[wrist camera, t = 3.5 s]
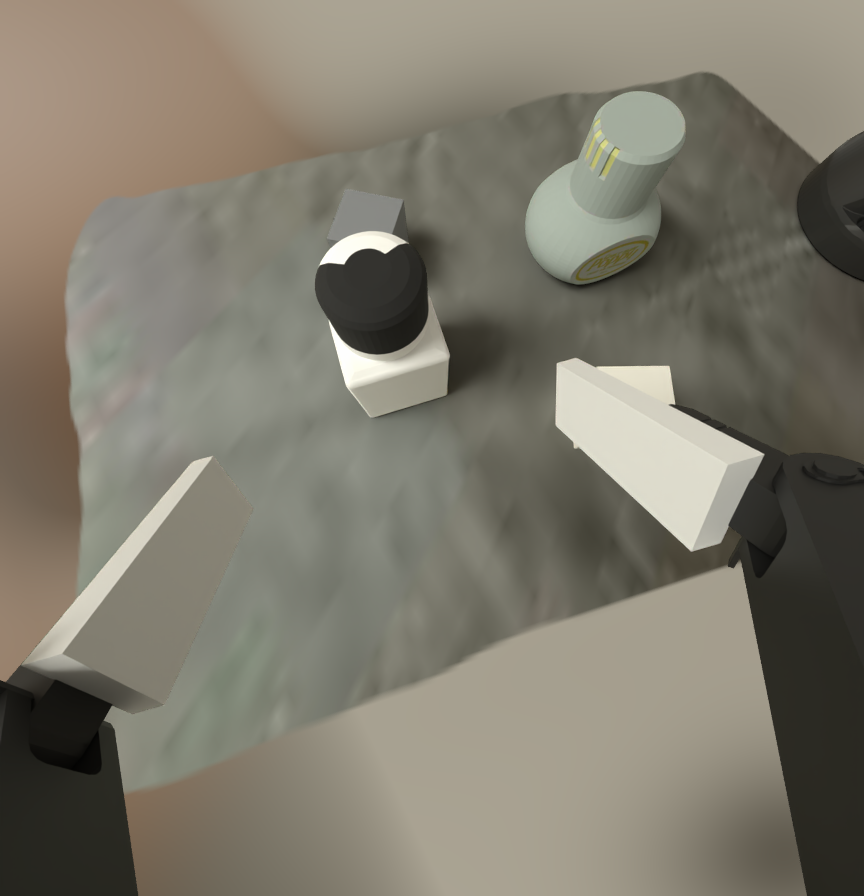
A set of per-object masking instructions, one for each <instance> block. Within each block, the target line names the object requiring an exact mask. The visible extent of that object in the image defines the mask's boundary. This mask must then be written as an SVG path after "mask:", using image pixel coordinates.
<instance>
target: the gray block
mask: <svg viewBox="0 0 864 896" xmlns="http://www.w3.org/2000/svg"><path fill="white" fill-rule="evenodd" d="M367 231H379V232H385V233H389V234H392V235H395V236H397V237H399V238H401V239H403V240H404V241H406V242H407V243H409V240H408V232H407V224H406V216H405V208H404V200H403V199H397V198H392V197H387V196H382V195H376V194H371V193H366V192H361V191H356V190H350V189H345V192H344V194H343V197H342V200H341V202H340V205H339V207H338V210H337V213H336V215H335V218H334V221H333V223H332V226H331V229H330V231H329V234H328V236H327V241H328V243H329V245H330V248H332V247H333V246H334V245H335V244H336V243H338V242H339V241H341V240H342V239H344V238H346V237H348V236H350V235H353V234H356V233H360V232H367Z"/></svg>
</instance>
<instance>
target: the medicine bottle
mask: <svg viewBox="0 0 864 896" xmlns="http://www.w3.org/2000/svg"><path fill="white" fill-rule="evenodd" d="M315 291H316V296H317V299H318V302H319V304H320V306H321V308H322V309H323V311H324V313H325V314H326V316H327V318H328V320H329V324H330V327H331V331H332V335H333V339H334V342H335V346H336V350H337V353H338V357H339V361H340V365H341V368H342V372H343V376H344V379H345V383H346V386H347V388H348V389H349V390H350V392H351V393H352V394H353V395H354V397H355V398H356V399H357V401H358V402H359V403H360V405H361V406H362V407H363V408H364V410H365V411H366V412H367V414H368V415H369V416H370V417H377V416H380V415H384V414H387V413H390V412H393V411H397V410H400V409H403V408H407V407H410V406H413V405H417V404H420V403H423V402H426V401H430V400H433V399H436V398H440V397H443V396H445V395H447V393H448V383H449V366H450V353H449V350H448V347H447V345H446V342H445V339H444V336H443V333H442V330H441V327H440V324H439V322H438V319H437V316H436V313H435V310H434V307H433V304H432V302H431V299H430V296H429V293H428V288H427V274H426V268H425V265H424V262H423V260H422V258H421V256H420V255H419V253H418V252H417V251H416V250H415V249H414V248H413V247H412V246H411V245H410V244H409V243H407V242H406V241H404V240H403V239H401V238H399V237H397V236H395V235H392V234H389V233H385V232H379V231H367V232H360V233H356V234H353V235H350V236H348V237H346V238H344V239H342V240H341V241H339V242H338V243H336V244H335V245H334V246H333V247H332V248H331V249H330V250H329V251H328V252H327V253H326V255H325V256H324V258H323V259H322V261H321V263H320V265H319V267H318V270H317V274H316V279H315Z"/></svg>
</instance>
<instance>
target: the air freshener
mask: <svg viewBox="0 0 864 896" xmlns="http://www.w3.org/2000/svg"><path fill="white" fill-rule="evenodd" d="M685 131H686V126H685V121H684V117H683V115H682V113H681V111H680V110H679V108H678V107H677V106H676V105H675V104H674V103H672V102H671V101H670V100H668V99H666V98H665V97H663V96H660V95H658V94H654V93H651V92H644V91H635V92H628V93H624V94H621V95H619V96H617V97H615V98H613V99H612V100H610V101H609V102H607V103H606V104H605V105H603V106H602V107H601V108H600V110H599V111H598V113H597V114H596V116H595V119H594V121H593V124H592V126H591V129H590V131H589V134H588V136H587V138H586V141H585V143H584V146H583V148H582V151H581V153H580V156H579V158H578V160H575V161H573V162H571V163H569V164H567V165H565V166H563V167H561V168H560V169H558V170H557V171H555V172H554V173H553V174H551V175H550V176H549V177H548V178H547V179H546V180H545V181H544V182H543V183H542V184H541V185H540V186H539V187H538V189H537V190H536V192H535V193H534V195H533V197H532V199H531V201H530V204H529V207H528V210H527V213H526V221H525V232H526V239H527V243H528V246H529V249H530V251H531V253H532V255H533V257H534V258H535V260H536V261H537V263H538V264H539V265H540V266H541V267H542V268H543V269H544V270H545V271H546V272H548V273H549V274H551V275H552V276H554V277H556V278H558V279H560V280H562V281H565V282H568V283H572V284H587V283H592V282H595V281H598V280H601V279H604V278H606V277H609V276H611V275H613V274H615V273H617V272H619V271H621V270H623V269H625V268H626V267H628V266H630V265H631V264H633V263H634V262H636V261H637V260H639V259H640V258H641V257H642V256H644V255H645V254H646V253H647V252H648V251H649V250H650V248H651V247H652V246H653V244H654V242H655V240H656V238H657V235H658V232H659V228H660V223H661V205H660V199H659V196H658V193H657V191H656V188H655V187H656V186H657V184H658V182H659V181H660V179H661V178H662V176H663V175H664V173H665V172H666V170H667V169H668V167H669V166H670V164H671V163H672V161H673V160H674V158H675V157H676V155H677V154H678V152H679V151H680V149H681V148H682V146H683V144H684V142H685V137H686V132H685Z"/></svg>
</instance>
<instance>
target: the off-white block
mask: <svg viewBox="0 0 864 896" xmlns="http://www.w3.org/2000/svg"><path fill="white" fill-rule="evenodd" d="M596 368H597V369H599V370H601V371H603V372H605V373H607V374H609V375H611V376H613V377H615V378H617V379H619V380H620V381H622V382H624V383H626V384H628V385H630V386H632V387H634V388H636V389H638V390H640V391H642V392H644V393H646V394H648V395H650V396H652V397H654V398H656V399H658V400H660V401H662V402H663V403H665V404H667V405H669V404H674V405H675V400H674V393H673V387H672V380H671V374H670V368H669V366H614V367H596ZM574 449H581V448H580V447H578V446H577V445H576V444H575V443H574Z"/></svg>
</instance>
